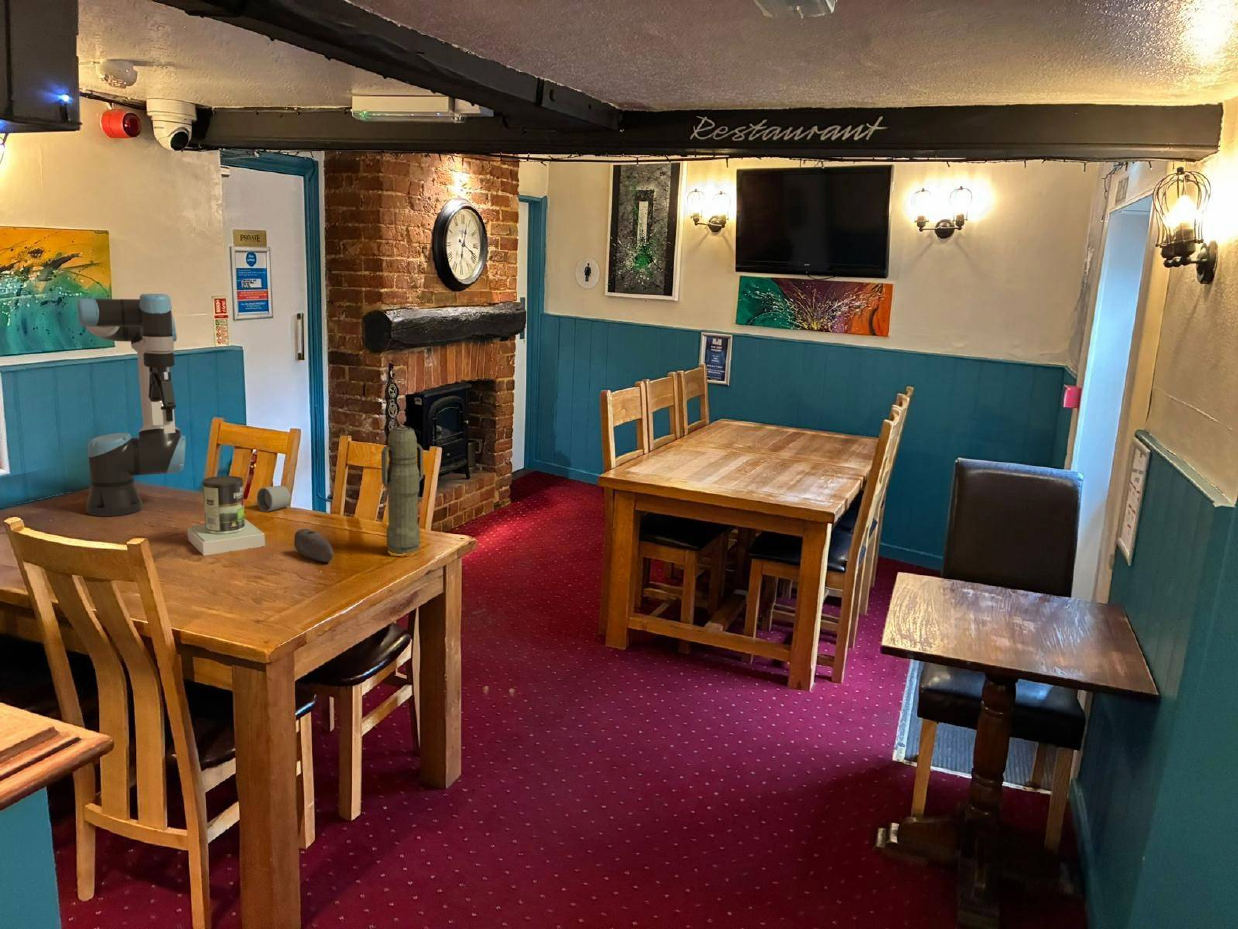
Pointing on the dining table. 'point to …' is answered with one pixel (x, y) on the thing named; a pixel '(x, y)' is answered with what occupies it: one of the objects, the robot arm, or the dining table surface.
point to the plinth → (225, 539)
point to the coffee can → (223, 504)
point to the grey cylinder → (273, 498)
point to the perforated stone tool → (313, 545)
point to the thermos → (402, 489)
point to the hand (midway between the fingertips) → (163, 428)
